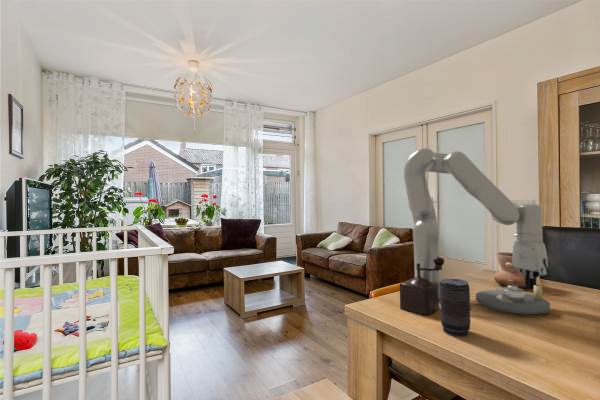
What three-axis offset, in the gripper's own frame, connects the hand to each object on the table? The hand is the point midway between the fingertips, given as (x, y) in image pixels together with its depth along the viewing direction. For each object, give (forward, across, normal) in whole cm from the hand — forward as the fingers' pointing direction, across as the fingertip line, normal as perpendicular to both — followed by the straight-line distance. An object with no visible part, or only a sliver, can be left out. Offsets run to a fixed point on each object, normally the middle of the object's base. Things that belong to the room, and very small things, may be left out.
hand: (530, 288), depth 113 cm
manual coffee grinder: (+6, -12, -37) cm, 39 cm away
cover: (+3, 0, -8) cm, 9 cm away
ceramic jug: (+6, -22, +18) cm, 29 cm away
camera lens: (+6, +9, -42) cm, 44 cm away
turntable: (+5, -1, -8) cm, 9 cm away
